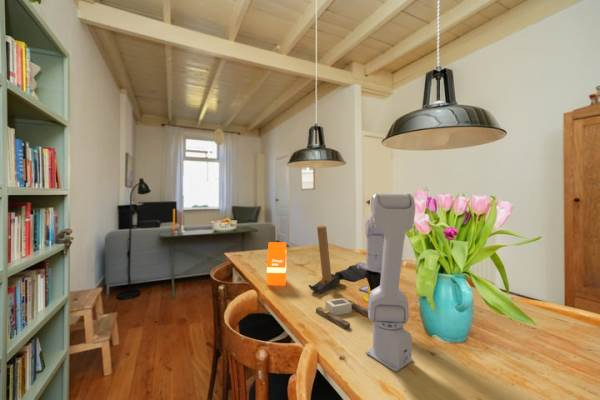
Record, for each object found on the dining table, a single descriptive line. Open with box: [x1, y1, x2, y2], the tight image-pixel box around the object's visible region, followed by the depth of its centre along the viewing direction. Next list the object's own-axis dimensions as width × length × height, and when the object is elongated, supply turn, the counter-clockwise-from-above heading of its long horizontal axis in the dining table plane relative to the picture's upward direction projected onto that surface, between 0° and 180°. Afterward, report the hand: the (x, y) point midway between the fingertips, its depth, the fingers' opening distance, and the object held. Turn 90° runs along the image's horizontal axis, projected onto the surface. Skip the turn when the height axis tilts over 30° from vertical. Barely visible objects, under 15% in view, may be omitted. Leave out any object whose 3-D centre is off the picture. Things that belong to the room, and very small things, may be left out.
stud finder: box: [324, 297, 353, 316], centre depth 97 cm, size 6×8×4 cm
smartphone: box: [358, 285, 369, 294], centre depth 116 cm, size 1×7×15 cm
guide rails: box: [315, 299, 369, 330], centre depth 94 cm, size 15×15×2 cm
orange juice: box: [266, 241, 287, 286], centre depth 127 cm, size 8×9×20 cm
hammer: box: [307, 225, 344, 294], centre depth 119 cm, size 20×5×30 cm, turn 137°
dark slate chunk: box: [338, 263, 367, 283], centre depth 142 cm, size 15×22×5 cm
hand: (374, 292), depth 90 cm, fingers closed
